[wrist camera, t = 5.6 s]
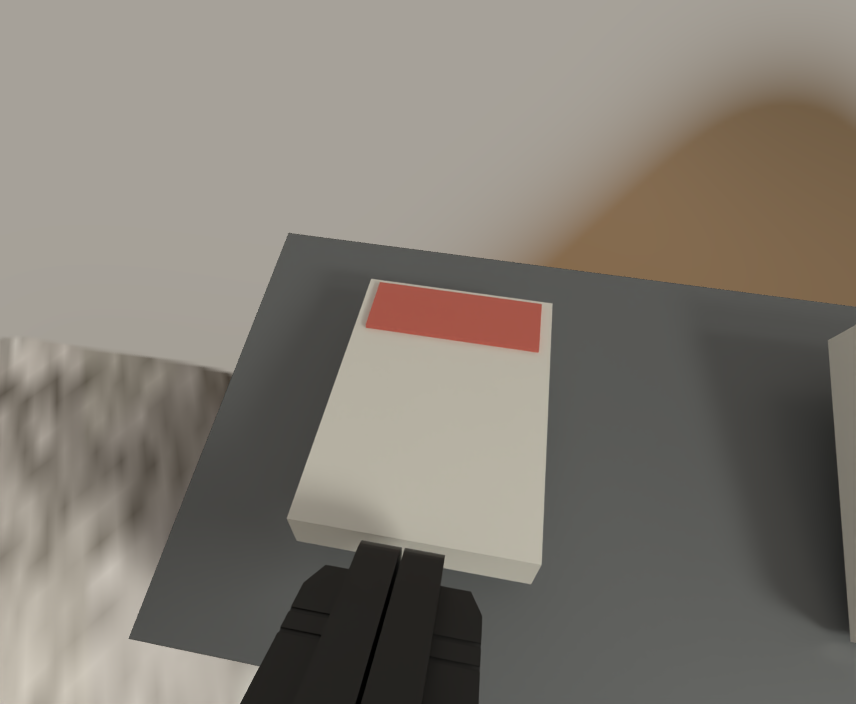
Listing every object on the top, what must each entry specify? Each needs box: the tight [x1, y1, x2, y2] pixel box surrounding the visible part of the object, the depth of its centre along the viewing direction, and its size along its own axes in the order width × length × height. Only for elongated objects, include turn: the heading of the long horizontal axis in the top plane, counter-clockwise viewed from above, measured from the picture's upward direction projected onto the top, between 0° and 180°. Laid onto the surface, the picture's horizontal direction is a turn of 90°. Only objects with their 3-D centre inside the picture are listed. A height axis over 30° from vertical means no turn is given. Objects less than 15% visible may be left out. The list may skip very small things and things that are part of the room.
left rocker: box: [287, 279, 553, 584], centre depth 13 cm, size 5×7×1 cm
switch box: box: [129, 233, 856, 704], centre depth 18 cm, size 27×12×8 cm, turn 80°
